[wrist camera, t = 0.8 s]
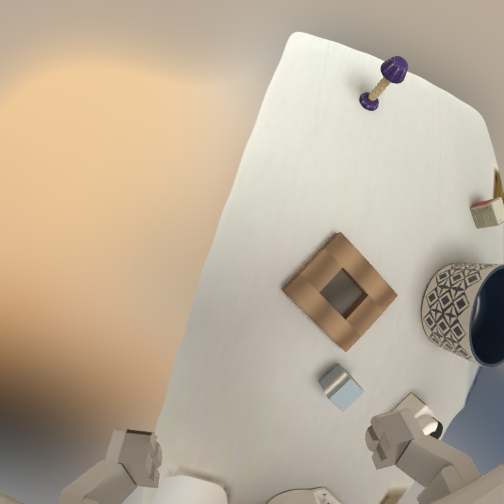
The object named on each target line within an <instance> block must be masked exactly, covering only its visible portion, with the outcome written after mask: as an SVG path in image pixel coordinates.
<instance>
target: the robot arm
mask: <svg viewBox="0 0 504 504" xmlns="http://www.w3.org/2000/svg"><path fill="white" fill-rule="evenodd" d="M370 422H371V426H370V427H369V428H368V429H367V431H366V439H365V440H366V444H367V447H368V449H369V450H371V451H372V452H374V453H373V455H372V459H373V462H374V464H375V467H376V469H381V468H385V467H389V466H392V465H395V466H397V467H398V468H399V469H401V470H402V471H403V472H405V473H406V474H407V475H409V476H410V477H411V478H413V479H414V480H415V481H417V482H418V483H419V484H421V485H422V486H424V487H425V489H424V490H423V491H422V492H421V493H420V494H419V495H418V497H417V500H418V502H419V504H504V463H502V464H501V465H499V466H498V467H496V468H495V469H493V470H491V471H490V472H489V473H487V474H485V475H483V476H482V477H481V475H480V473H479V471H478V470H477V468H476V467H475V465H474V463H473V461H472V460H471V458H470V457H469V455H467V454H465V453H463V452H461V451H459V450H457V449H455V448H453V447H451V446H449V445H447V444H445V443H443V442H441V441H439V440H438V439H436V438H434V437H432V436H430V435H425V434H424V432H423V431H422V429H421V427H420V426H419V424H418V422H417V421H416V419H415V417H414V415H413V414H412V412H411V410H410V409H409V408H404V409H400V410H397V411H392V412H388V413H384V414H380V415H376V416H374V417H372V419H371V421H370ZM156 438H157V437H156V435H155V432H146V431H137V430H129V429H122V428H115V430H114V431H113V433H112V437H111V440H110V443H109V447H108V450H107V453H106V457H105V460H104V461H103V460H100V461H99V462H98V463H97V464H95V465H94V466H93V467H92V468H90V469H89V470H88V471H87V472H85V473H84V474H83V475H81V476H80V477H79V478H77V479H76V480H75V481H74V482H72V483H71V484H70V485H68V486H67V487H66V488H65V489H63V490H62V492H61V495H60V499H59V502H58V504H121V503H122V502H123V501H124V500H125V499H126V498H127V497H128V496H129V495H130V494H131V493H132V492H133V490H134V489H135V488H136V487H137V486H144V487H154V488H158V483H159V476H160V474H159V472H158V470H157V468H158V467H159V466H160V465H161V462H162V451H161V447H160V444H159V443H158V442H156ZM0 504H24V503H22V502H20V501H18V500H15V499H13V498H11V497H9V496H7V495H5V494H4V493H2V492H0ZM267 504H342V503H341V502H340V501H339V500H338V499H337V498H336V497H335V496H334V495H333V494H332V493H331V492H330V491H329V490H328V489H327V488H325V487H321V488H316V489H312V490H293V491H288V492H284V493H282V494H279V495H277V496H275V497H274V498H272V499H271V500H270V501H269V502H268V503H267Z"/></svg>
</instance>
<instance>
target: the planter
mask: <svg viewBox="0 0 504 504" xmlns="http://www.w3.org/2000/svg"><path fill="white" fill-rule="evenodd" d="M422 321H423V326H424V330H425V332H426V334H427V336H428V338H429V339H430V340H431V341H432V342H433V343H434V344H436V345H437V346H439V347H441V348H443V349H445V350H448V351H450V352H452V353H454V354H456V355H459V356H461V357H463V358H465V359H467V360H470V361H472V362H474V363H476V364H479V365H481V366H484V367H494V366H497V365H499V364H501V363H503V362H504V264H451V265H448V266H446V267H444V268H443V269H441V270H440V271H439V272H438V273H437V274H436V275H435V276H434V278H433V279H432V280H431V282H430V284H429V286H428V288H427V290H426V293H425V296H424V300H423V305H422Z"/></svg>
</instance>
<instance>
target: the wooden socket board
mask: <svg viewBox="0 0 504 504" xmlns="http://www.w3.org/2000/svg"><path fill="white" fill-rule="evenodd" d="M282 290H283V291H284V292H285V293H286V294H287V295H288V296H289V297H290V298H291V299H292V300H293V301H294V302H295V303H296V304H297V305H298V306H299V307H300V308H301V309H302V310H303V311H304V312H305V313H306V314H307V315H308V316H309V317H310V318H311V319H312V320H313V321H314V322H315V323H316V324H317V325H318V326H319V327H320V328H321V329H322V330H323V331H324V332H326V333H327V334H328V335H329V336H330V337H331V338H332V339H333V340H334V341H335V342H336V343H337V344H338V345H339V346H340V347H341V348H342V349H343V350H344V351H345V352H347V351H348V350H349V349H350V348H351V347H352V346H353V344H354V343H355V342H356V341H357V340H358V339H359V338H360V337H361V336H362V335H363V334H364V333H365V332H366V331H367V330H368V329H369V328H370V327H371V325H372V324H373V323H374V322H375V321H376V320H377V319H378V318H379V317H380V315H381V314H382V313H383V312H384V311H385V310H386V309H387V308H388V306H389V305H390V304H391V303H392V302H393V301H394V299H395V298H396V297H397V296H398V295H397V294H396V293H395V292H394V290H393V289H392V288H391V287H390V286H389V285H388V283H387V282H386V281H385V280H384V279H383V278H382V277H381V275H380V274H379V273H378V272H377V271H376V270H375V269H374V268H373V267H372V265H371V264H370V263H369V262H368V261H367V260H366V259H365V258H364V257H363V255H362V254H361V253H360V252H359V251H358V250H357V249H356V248H355V247H354V246H353V245H352V244H351V242H350V241H349V240H348V239H347V238H346V237H345V236H344V235H343V234H342V233H341V232H340V233H336V234H335V235H334V236H333V237H332V238H331V239H330V241H329V242H328V243H327V244H326V245H325V246H324V247H323V248H322V249H321V250H320V251H319V252H318V253H317V254H316V255H315V256H314V257H313V258H312V259H311V260H310V261H309V262H308V264H307V265H306V266H305V267H304V268H303V269H302V270H301V271H300V272H299V273H298V274H297V275H296V276H295V277H294V278H293V279H292V280H291V281H290V282H289V283H288V284H287V285H286V286H285V287H284V288H283V289H282Z"/></svg>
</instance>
